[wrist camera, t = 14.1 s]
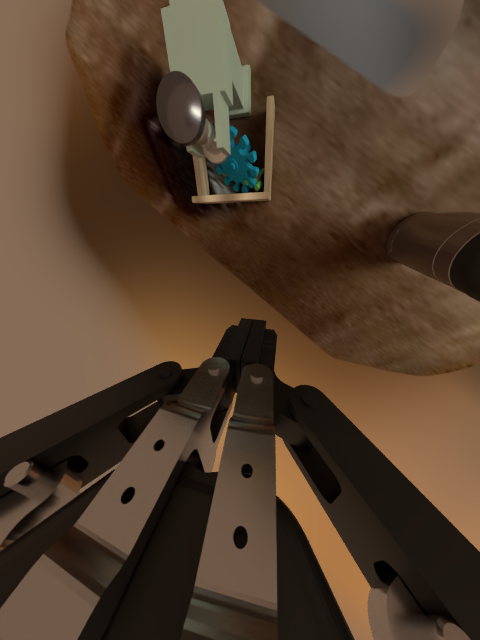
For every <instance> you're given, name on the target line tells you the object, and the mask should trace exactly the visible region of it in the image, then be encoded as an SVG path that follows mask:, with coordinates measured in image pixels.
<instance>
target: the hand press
mask: <svg viewBox="0 0 480 640" xmlns="http://www.w3.org/2000/svg"><path fill="white" fill-rule="evenodd" d="M169 2H170V6H168V7H165V8H162V9H161V14H162V20H163V27H164V33H165V40H166V46H167V53H168V60H169V66H170V72H172V71H180V72H183V73H184V74H186V75H187V76H188V77H189V78H190V79H191V80H192V82H193V83H194V85H195V86H196V87H197V89H198V90H199V92H200V94H201V96H202V98H203V101H204V105H205V111H208V110H214V117H215V130H216V143H217V148H218V149H219V150H220V151H221V152H222V153H223V154H224V155H231V152H230V131H229V119H233V118H240V117H246V116H251V69H250V65H244V66H241V62H240V59H239V56H238V53H237V49H236V46H235V43H234V39H233V36H232V33H231V30H230V23H229V20H228V16H227V13H226V10H225V6H224V3H223V0H169ZM186 148H187V152H189V153H190V154H192V155H194V156H195V157H197V158H204V157H203V148H202V146H200V145H199V144H198V143H197V142H196V143H195V144H193V145H191V146H186Z"/></svg>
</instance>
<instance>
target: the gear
mask: <svg viewBox="0 0 480 640" xmlns="http://www.w3.org/2000/svg"><path fill="white" fill-rule="evenodd" d="M229 131H230V142H231V150H230V152H231V155H229V156H228V158H227V160H226V161H225V162H223V163H221V165H222V166H221V165H218V166H217V167H216V171H217V173H218V174H219V175H220V174H222V173H224V174H226V175H228V176H226V177H225V179H224V180H223V181H224V183H225V184H226V185H227V186H228V185H229V184H230V183H231V181H232V180H234V181H235V183H236V184H235V185H234V186H233V190H234V191H235V192H238V191H239V190H240V182H241V183H242V184H243V187H242V192H243V193H247V192H248V191H249V187H250V188H253V187H254V189H255V190H256V191H258V190H259V189H260V188H261V186H262V182H261V176H262V175H263V173H264V172H265V169H264V168H262V169H261V171H260V172H259V168H258V167H254V166H252V165H251V164H250V163H249V162H248V160H249V161H250V162H251V163H254V162H255V161H256V160H257V155H256V151H252V152H250V153H248V152H249V151H250V150H251V146H250V144H249V140H248V138H247V136H246V135H243V136H242V137H241V139H240V142H239V144H235V143H234V141H233V139H234V138H235V136H236V135H237V129H236V128H235V127H233V126H231V127H230V128H229ZM242 148H243V150H242ZM247 159H248V160H247ZM248 185H249V187H248Z"/></svg>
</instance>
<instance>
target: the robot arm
mask: <svg viewBox="0 0 480 640" xmlns="http://www.w3.org/2000/svg"><path fill="white" fill-rule="evenodd" d="M386 251H387V254H388V255H389V257H390V258H391V259H393V260H395V261H397V262H399V263H401V264H403V265H405V266H407V267H409V268H411V269H414V270H416V271H418V272H420V273H422V274H424V275H426V276H429V277H431V278H433V279H435V280H437V281H439V282H442V283H444V284H446V285H448V286H450V287H453V288H455V289H457V290H459V291H461V292H463V293H466V294H467V295H468V296H470V297H472V298H474V299H475V300H478V301H480V213H473V212H421V213H416V214H414V215H411V216H409V217H407V218H406V219H404V220H403V221H401V222H400V223H399V224H398V225H397V226H396V227H395V228H394V229H393V230H392V232H391V233H390V235H389V237H388V239H387V243H386ZM276 342H277V335H276V333H275V331H274V330H270V329H266V321H264V320H253V319H244V318H242V319H241V321H240V323H239V325H238V326H235V325H232V326H231V327H229V328H228V329H227V330H226V332H225V334H224V336H223V338H222V340H221V341H220V343H219V345H218V347H217V349H216V351H215V353H214V355H213V357H212V358H209V359H207V360H205V361H204V362H203V363H202V364H201V365H200V367H198V368H192V369H181V366H180V364H178V363H177V362H173V361H168V362H163V363H161V364H159V365H156V366H154V367H152V368H150V369H148V370H146V371H144V372H141V373H139V374H137V375H135V376H133V377H131V378H128V379H126V380H124V381H122V382H120V383H118V384H115V385H113V386H111V387H109V388H107V389H105V390H103V391H100V392H98V393H96V394H94V395H92V396H90V397H87V398H85V399H83V400H81V401H79V402H77V403H75V404H73V405H70V406H68V407H66V408H64V409H62V410H59V411H57V412H55V413H53V414H51V415H49V416H47V417H44V418H43V419H40V420H38V421H36V422H34V423H31V424H30V425H27V426H25V427H23V428H21V429H19V430H17V431H14V432H12V433H10V434H8V435H6V436H3V437H1V438H0V640H354V637H353V635H352V633H351V631H350V629H349V627H348V625H347V622H346V620H345V618H344V616H343V614H342V612H341V610H340V607H339V606H338V603H337V601H336V599H335V597H334V595H333V593H332V591H331V588H330V586H329V584H328V582H327V580H326V578H325V576H324V573H323V571H322V569H321V567H320V565H319V563H318V560H317V558H316V556H315V554H314V552H313V550H312V548H311V545H310V544H309V541H308V539H307V537H306V535H305V533H304V531H303V530H302V527H301V526H300V524H299V522H298V521H297V519H296V518H295V516H294V515H293V513H292V512H291V511H290V509H289V508H288V507H287V506H286V505H285V503H284V502H283V501H282V500H281V499H279V497H277V496H276V465H275V464H276V458H275V457H276V456H275V434H276V435H277V436H279V437H281V438H282V439H283V441H284V443H285V445H286V447H287V449H288V450H289V452H290V454H291V455H292V457H293V459H294V460H295V462H296V464H297V465H298V467H299V468H300V470H301V472H302V474H303V475H304V477H305V478H306V480H307V482H308V484H309V485H310V487H311V488H312V490H313V492H314V493H315V495H316V496H317V498H318V500H319V502H320V503H321V505H322V507H323V508H324V510H325V512H326V513H327V515H328V517H329V518H330V520H331V522H332V523H333V525H334V527H335V528H336V530H337V532H338V533H339V535H340V537H341V538H342V540H343V542H344V543H345V545H346V547H347V548H348V550H349V552H350V553H351V555H352V556H353V558H354V560H355V562H356V563H357V565H358V567H359V568H360V570H361V571H362V573H363V575H364V576H365V578H366V580H367V582H368V583H369V585H370V587H371V590H370V593H369V597H368V616H369V622H370V627H371V631H372V634H373V638H374V640H480V552H479V551H478V550H477V549H476V548H475V547H474V546H473V545H472V544H471V543H470V542H469V541H468V540H467V539H466V538H465V537H464V536H463V535H462V534H461V533H460V532H459V531H458V530H457V528H455V526H453V524H451V522H449V521H448V519H447V518H446V517H445V516H444V515H443V514H442V513H441V512H440V511H439V510H438V509H437V508H436V507H435V506H434V505H433V504H432V503H431V502H430V501H429V500H428V499H427V498H426V497H425V496H424V495H423V494H422V493H421V492H420V491H419V490H418V489H417V488H416V487H415V486H414V485H413V484H412V483H411V482H410V481H409V480H408V479H407V478H406V477H405V476H404V475H403V474H402V473H401V472H400V471H399V470H398V469H397V468H396V467H395V466H394V465H393V464H392V463H391V462H390V461H389V460H388V459H387V458H386V457H385V455H383V453H382V452H381V451H379V449H378V448H377V447H376V446H375V445H374V444H373V443H372V442H371V441H370V440H369V439H368V438H367V437H366V436H365V435H363V433H362V432H361V431H360V430H359V429H358V428H357V427H356V426H355V425H354V424H353V423H352V422H351V421H350V420H349V419H348V418H347V417H346V416H345V415H344V414H343V413H342V412H341V411H340V410H339V409H338V408H337V407H336V406H335V405H334V404H333V403H332V402H331V401H330V400H329V399H328V398H327V397H326V396H325V395H324V394H323V393H322V392H321V391H320V390H318V389H317V388H315V387H312V386H308V385H299V386H297V387H295V388H293V387H290V386H288V385H286V384H285V383H283V382H281V381H280V380H279V379H278V378H277V376H276V375H275V372H274V363H275V353H276ZM235 393H237V397H236V402H235V407H234V413H233V416H232V417H231V418H230V420H229V424H228V428H227V433H226V438H225V442H224V447H223V452H222V457H221V462H220V466H219V471H218V472H211V471H212V468H213V464H214V461H215V456H216V450H217V446H218V443H219V440H220V437H221V435H222V432H223V429H224V427H225V424H226V421H227V419H228V416H229V413H230V411H231V408H232V401H233V397H234V394H235ZM156 400H157V401H158V402H156V403H154V404H152V405H151V406H149V407H147V408H145V409H144V410H142V411H140V412H139V413H137V414H135V415H133V416H131V417H128V416H130V415H131V414H133V413H135V412H137V411H138V410H140V409H142V408H144V407H145V406H147V405H149V404H151V403H152V402H154V401H156ZM119 462H120V464H119V465H118V466H117V468H116V469H114V470H113V471H111V472H110V473H109V474H107V475H106V476H104V477H103V478H102V479H101V480H99V481H97V482H96V483H95V484H93V485H92V486H91V487H89V488H88V489H86V490H85V491H84V492H82V493H81V494H80V492H79V490H80V489H81V488H82V487H83V486H85V485H86V484H88V483H89V482H91V481H92V480H94V479H95V478H97V477H98V476H100V475H101V474H103V473H104V472H106V471H107V470H109V469H110V468H112V467H113V466H115V465H116V464H118V463H119Z"/></svg>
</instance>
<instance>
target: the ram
mask: <svg viewBox="0 0 480 640" xmlns="http://www.w3.org/2000/svg"><path fill="white" fill-rule="evenodd" d="M156 105H157V113H158V117H159V121H160V123H161V126H162V128H163V129H164V131H165V132H166V134H167V135H168V136H169V137H170V138H171V139H173V140H174V141H176V142H177V143H179V144H181V145H183V146H191V145H193V144H195V143H196V142H197V143H198V144H199V145H200V146H202V148H203V152H204V154H205V156H206V157H207V159H208V160H209V161H211V162H212V163H214V164H221V163H223V162H225V161H226V160H227V158H228V156H229V155H224V154H223V153H222V152H221V151H220V150H219V149H218V148H217V143H216V130H215V123H213V124H211V123H210V122H209V121H208V120H207V118H206V111H205V105H204V101H203V98H202V96H201V94H200V92H199V90H198V89H197V87H196V86H195V85H194V83H193V82H192V80H191V79H190V78H189V77H188V76H187V75H186V74H184V73H183V72H180V71H172V72H169V73H168V74H166V75H165V76H164V77H163V79H162V80H161V82H160V85H159V87H158V91H157V99H156ZM230 150H231V142H230Z"/></svg>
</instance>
